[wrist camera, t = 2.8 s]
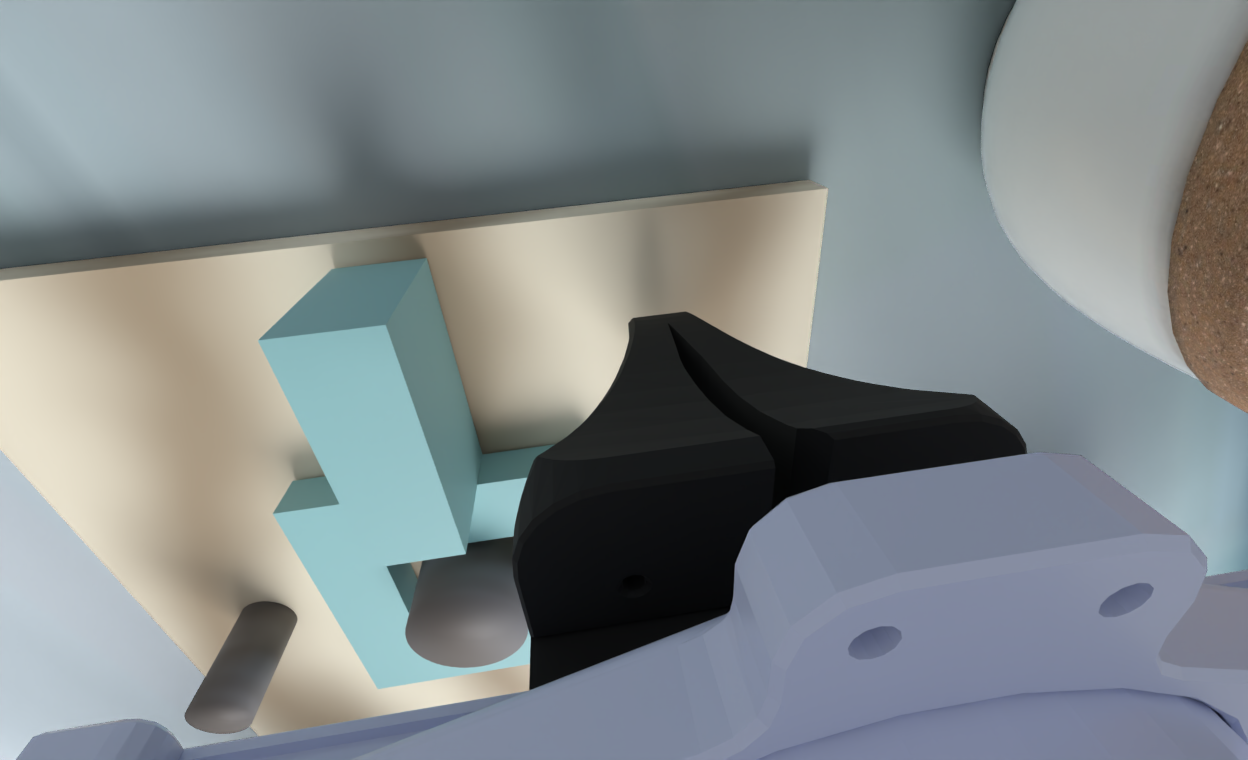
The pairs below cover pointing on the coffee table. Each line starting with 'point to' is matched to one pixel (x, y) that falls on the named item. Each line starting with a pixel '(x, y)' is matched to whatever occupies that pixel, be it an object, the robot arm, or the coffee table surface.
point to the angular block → (386, 456)
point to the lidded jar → (1130, 170)
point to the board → (279, 451)
